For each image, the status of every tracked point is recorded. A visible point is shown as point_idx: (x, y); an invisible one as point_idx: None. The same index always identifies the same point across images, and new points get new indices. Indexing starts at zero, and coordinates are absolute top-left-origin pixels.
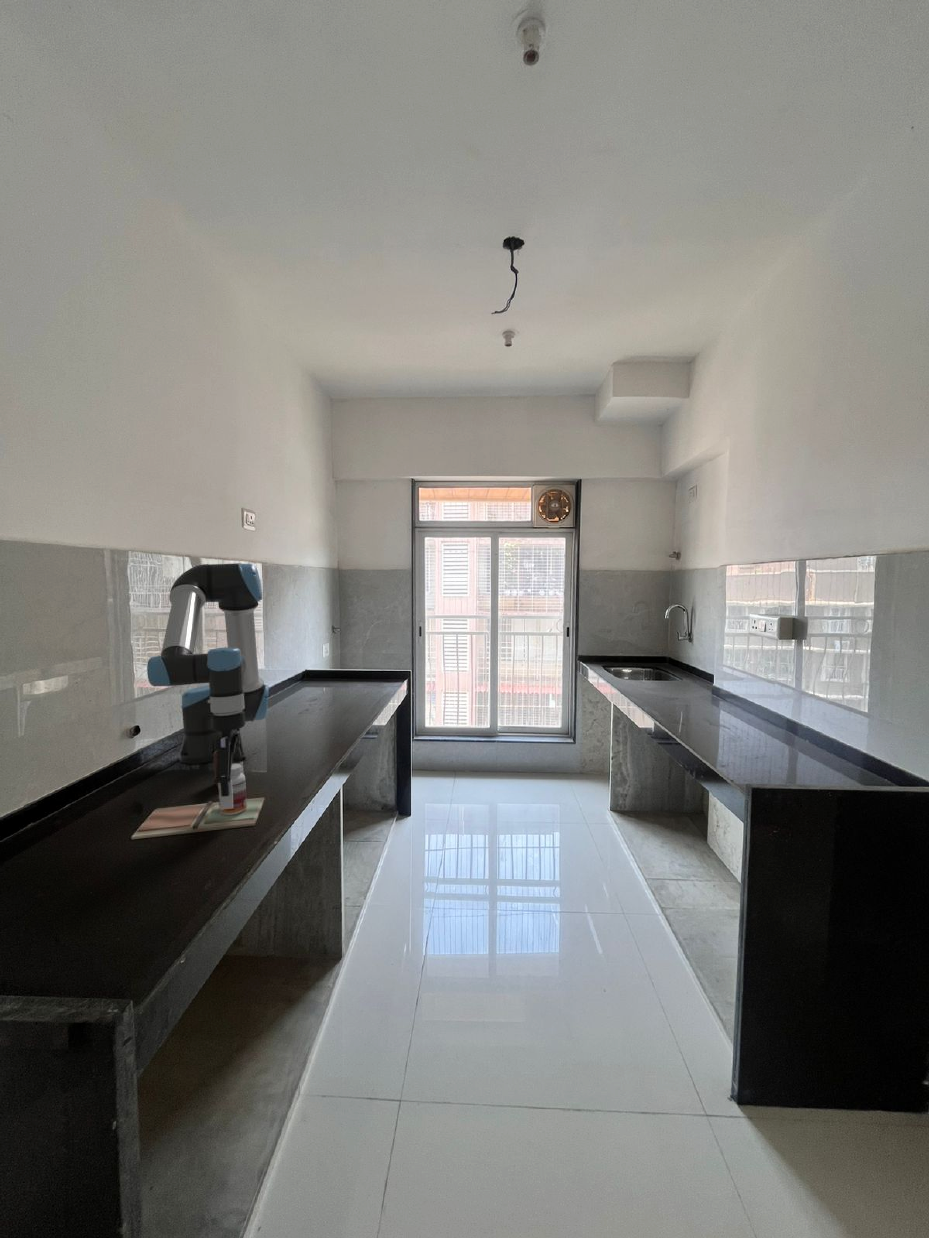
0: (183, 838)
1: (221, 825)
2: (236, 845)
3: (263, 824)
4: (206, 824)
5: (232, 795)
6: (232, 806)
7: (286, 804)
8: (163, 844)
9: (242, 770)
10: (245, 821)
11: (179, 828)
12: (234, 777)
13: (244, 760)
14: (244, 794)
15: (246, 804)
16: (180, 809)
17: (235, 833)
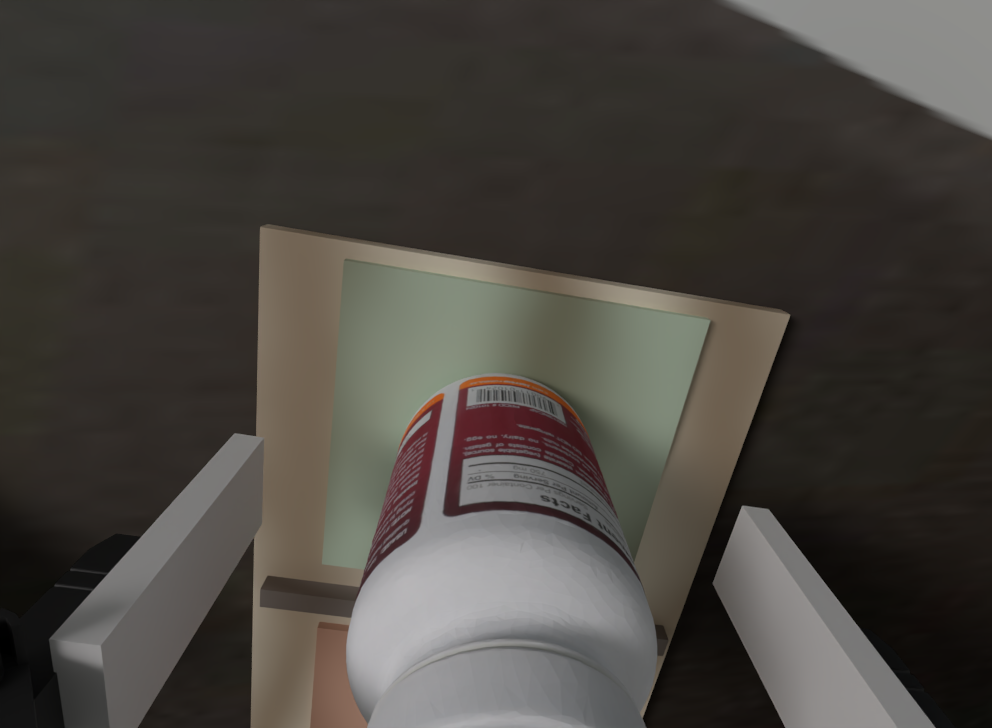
0: (720, 658)
1: (697, 509)
2: None
3: (801, 246)
4: None
5: (805, 583)
6: (773, 520)
7: (462, 28)
8: (739, 723)
9: (171, 556)
10: (724, 373)
11: None
12: (622, 671)
13: (21, 631)
14: (557, 441)
15: (517, 384)
16: (326, 719)
17: (834, 423)
